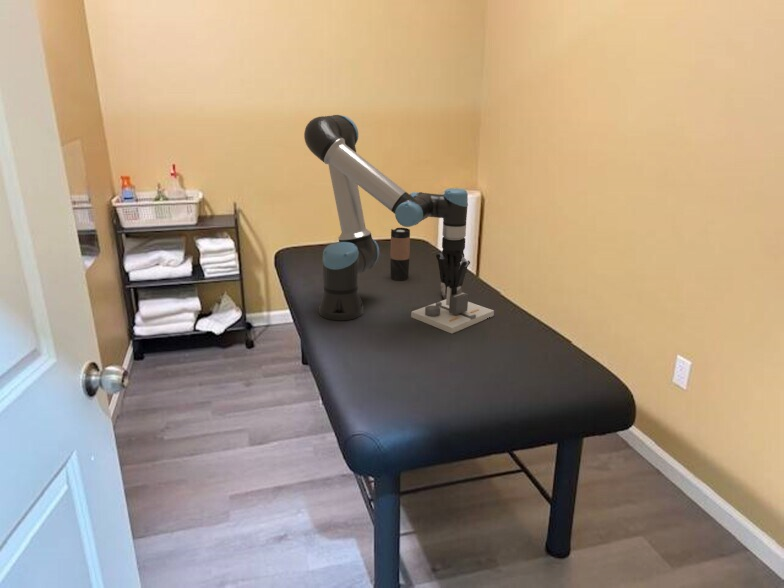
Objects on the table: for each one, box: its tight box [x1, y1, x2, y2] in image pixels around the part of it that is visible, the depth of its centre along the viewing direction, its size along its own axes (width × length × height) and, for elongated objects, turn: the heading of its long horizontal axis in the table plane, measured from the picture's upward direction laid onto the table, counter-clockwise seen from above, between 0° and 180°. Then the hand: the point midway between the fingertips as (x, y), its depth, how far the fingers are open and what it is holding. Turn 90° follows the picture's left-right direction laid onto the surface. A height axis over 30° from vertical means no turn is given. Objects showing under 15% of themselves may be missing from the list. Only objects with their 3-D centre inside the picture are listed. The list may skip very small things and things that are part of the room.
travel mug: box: [389, 227, 411, 282], centre depth 229 cm, size 8×8×20 cm
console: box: [410, 299, 495, 334], centre depth 194 cm, size 22×18×4 cm
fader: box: [449, 291, 469, 315], centre depth 191 cm, size 6×3×6 cm, turn 134°
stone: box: [440, 282, 462, 300], centre depth 213 cm, size 8×10×6 cm
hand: (450, 304), depth 194 cm, fingers closed
